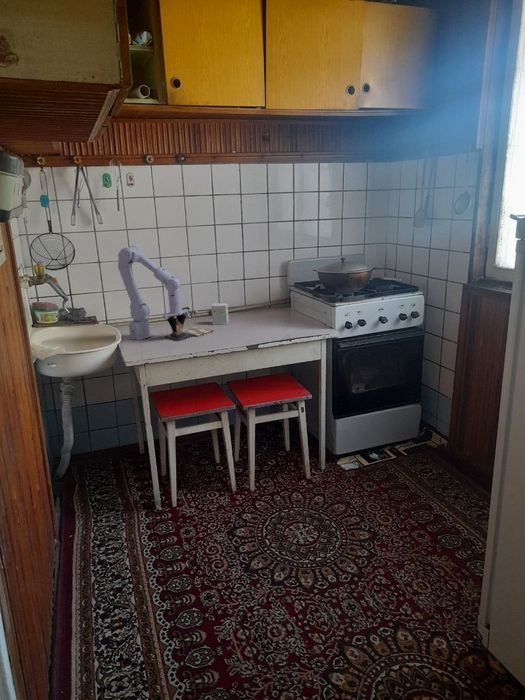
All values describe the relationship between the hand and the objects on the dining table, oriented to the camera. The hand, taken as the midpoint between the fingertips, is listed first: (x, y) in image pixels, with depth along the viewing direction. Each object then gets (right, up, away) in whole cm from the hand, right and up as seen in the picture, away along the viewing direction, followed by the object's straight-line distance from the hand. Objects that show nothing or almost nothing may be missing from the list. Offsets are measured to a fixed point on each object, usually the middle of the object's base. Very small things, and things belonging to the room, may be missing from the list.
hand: (177, 330), depth 242 cm
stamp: (0, -2, +1) cm, 2 cm away
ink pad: (0, -3, +1) cm, 3 cm away
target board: (+8, -1, +9) cm, 12 cm away
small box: (+19, +5, +24) cm, 31 cm away
